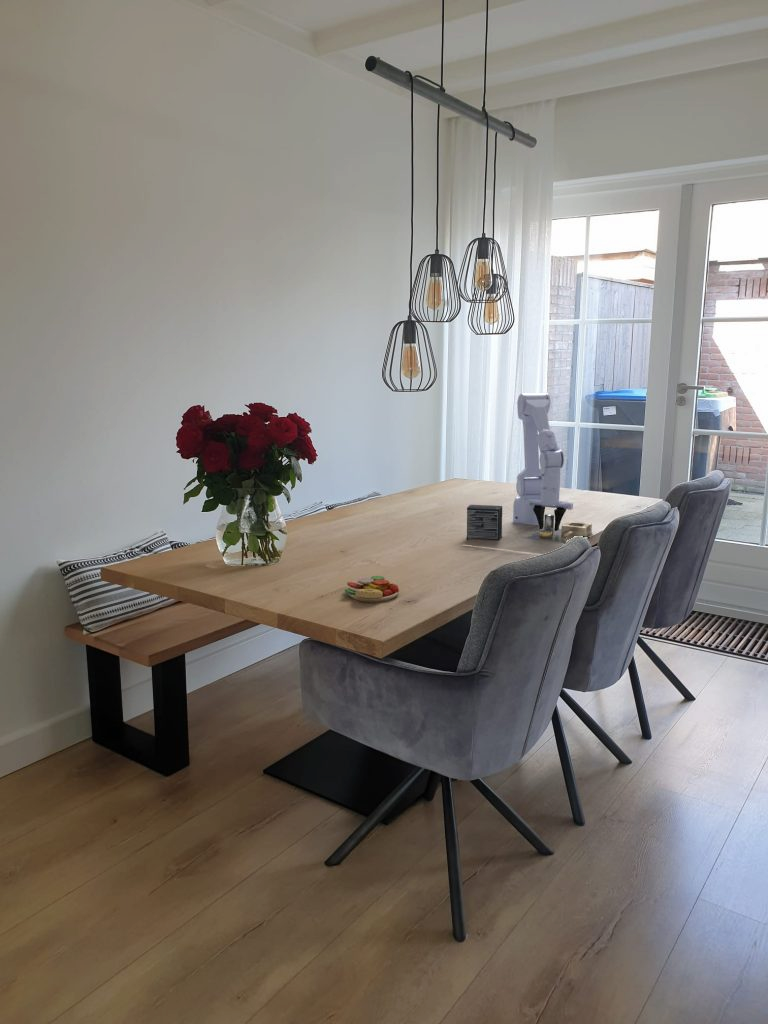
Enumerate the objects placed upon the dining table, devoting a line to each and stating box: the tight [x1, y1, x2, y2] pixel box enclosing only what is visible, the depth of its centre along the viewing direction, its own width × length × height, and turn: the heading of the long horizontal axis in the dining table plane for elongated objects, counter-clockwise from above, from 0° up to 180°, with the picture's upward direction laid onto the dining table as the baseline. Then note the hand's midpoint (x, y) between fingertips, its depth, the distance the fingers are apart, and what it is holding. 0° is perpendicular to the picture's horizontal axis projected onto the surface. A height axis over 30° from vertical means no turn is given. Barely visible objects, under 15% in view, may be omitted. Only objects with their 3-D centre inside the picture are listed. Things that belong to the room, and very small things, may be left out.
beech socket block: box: [560, 520, 593, 537], centre depth 263 cm, size 8×8×3 cm
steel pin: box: [543, 513, 555, 534], centre depth 263 cm, size 3×3×6 cm
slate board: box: [526, 527, 574, 543], centre depth 261 cm, size 15×17×1 cm
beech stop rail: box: [562, 531, 573, 543], centre depth 254 cm, size 1×6×2 cm, turn 150°
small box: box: [466, 504, 503, 541], centre depth 258 cm, size 11×6×10 cm, turn 74°
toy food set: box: [344, 575, 400, 603], centre depth 201 cm, size 13×13×3 cm
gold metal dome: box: [538, 530, 552, 539], centre depth 258 cm, size 4×4×2 cm
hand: (548, 529), depth 264 cm, fingers open, 4 cm apart
